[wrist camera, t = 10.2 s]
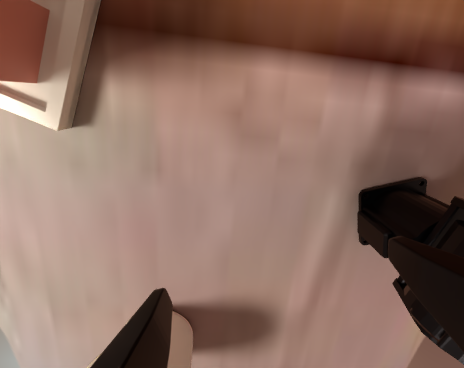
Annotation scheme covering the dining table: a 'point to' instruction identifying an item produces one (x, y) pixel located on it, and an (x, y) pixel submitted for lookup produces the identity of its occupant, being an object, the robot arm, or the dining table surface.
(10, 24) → the two tone block
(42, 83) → the white tray
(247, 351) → the dining table surface
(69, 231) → the dining table surface
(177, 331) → the mug
